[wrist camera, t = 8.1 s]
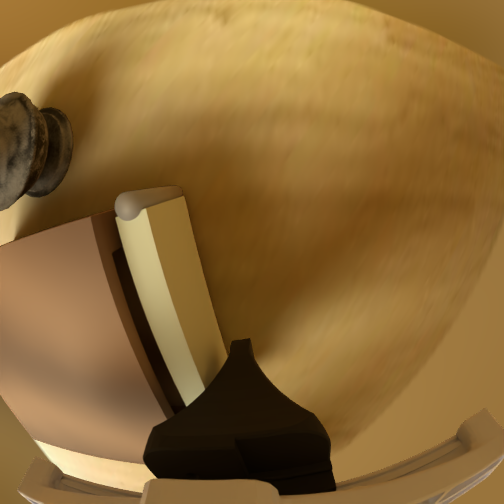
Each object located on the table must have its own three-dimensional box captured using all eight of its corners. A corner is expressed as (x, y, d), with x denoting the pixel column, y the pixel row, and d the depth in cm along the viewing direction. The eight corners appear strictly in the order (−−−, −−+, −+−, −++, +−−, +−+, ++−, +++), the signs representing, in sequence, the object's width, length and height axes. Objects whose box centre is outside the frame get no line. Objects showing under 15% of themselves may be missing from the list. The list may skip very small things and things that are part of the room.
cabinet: (208, 382, 15) (196, 467, 9) (70, 382, 15) (33, 438, 9) (157, 197, 12) (90, 216, 6) (13, 240, 13) (-56, 270, 6)
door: (249, 378, 15) (253, 453, 10) (220, 382, 15) (214, 457, 10) (199, 178, 12) (167, 179, 7) (163, 188, 12) (108, 197, 7)
